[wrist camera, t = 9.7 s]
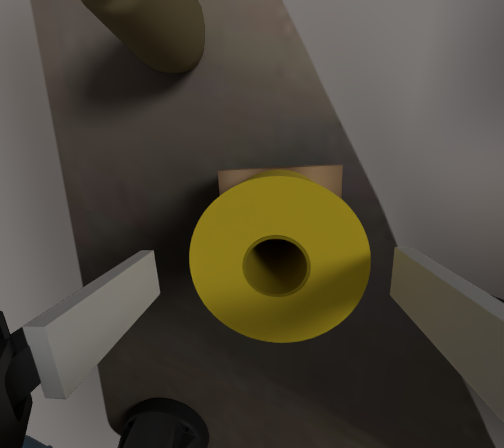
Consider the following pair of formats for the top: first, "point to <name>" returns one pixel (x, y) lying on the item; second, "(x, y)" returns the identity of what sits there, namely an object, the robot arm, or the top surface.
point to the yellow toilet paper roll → (279, 258)
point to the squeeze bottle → (156, 30)
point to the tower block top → (320, 174)
